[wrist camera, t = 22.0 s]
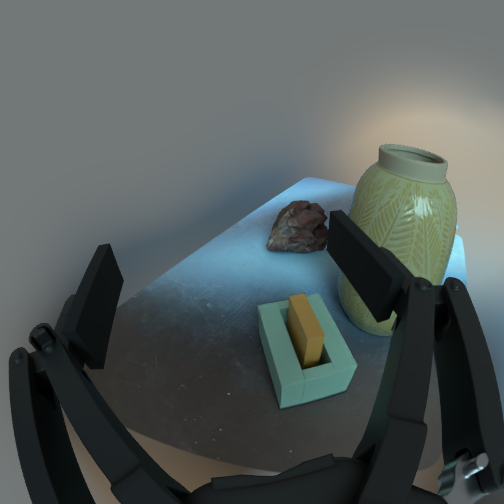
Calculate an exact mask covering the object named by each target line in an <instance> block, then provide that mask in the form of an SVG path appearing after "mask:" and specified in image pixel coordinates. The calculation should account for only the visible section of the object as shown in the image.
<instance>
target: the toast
mask: <svg viewBox="0 0 504 504" xmlns="http://www.w3.org/2000/svg"><path fill="white" fill-rule="evenodd" d="M288 334H289V337H290V340H291V342H292V345H293V348H294V351H295V353H296V356H297V359H298V361H299V364H300V367H301V370H305V369H309V368H312V367H316V366H318V364H319V360H320V355H321V351H322V346H323V342H324V337H325V334H324V332H323V330H322V328H321V326H320V324H319V322H318V320H317V318H316V316H315V314H314V312H313V310H312V308H311V305H310V303H309V301H308V299H307V297H306V295H305V293H302V294H297V295H292V296H289V311H288Z"/></svg>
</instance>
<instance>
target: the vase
mask: <svg viewBox="0 0 504 504" xmlns="http://www.w3.org/2000/svg"><path fill="white" fill-rule="evenodd" d="M447 167H448V163H447V161H446V160H445V159H443V158H442V157H440V156H438V155H436V154H433V153H431V152H428V151H425V150H422V149H418V148H414V147H409V146H402V145H395V144H386V145H381V146H380V147H379V160H378V162H376V163H375V164H373V165H372V166H370V167H369V168H368V169H367V170H366V172H365V173H364V174H363V175H362V177H361V178H360V180H359V182H358V184H357V186H356V189H355V192H354V195H353V199H352V203H351V206H350V210H349V214H348V217H349V218H350V219H351V220H352V221H353V222H354V223H355V224H356V225H357V226H358V227H359V228H360V229H361V230H362V231H363V232H364V233H365V234H366V235H367V236H368V237H369V238H370V239H371V240H372V241H373V242H374V243H375V244H376V245H377V246H378V247H385V248H386V249H388V250H390V251H391V252H392V253H393V254H394V255H395V256H396V258H398V259H399V260H400V261H401V262H402V263H403V264H404V265H405V266H406V267H407V268H408V270H409V271H410V272H411V273H412V274H413V275H414V276H415V277H423V278H425V279H427V280H429V281H430V282H431V283H432V284H433V285H441V283H442V280H443V278H444V275H445V272H446V269H447V266H448V262H449V259H450V255H451V252H452V248H453V243H454V238H455V231H456V223H457V204H456V198H455V195H454V192H453V190H452V188H451V185H450V184H449V182H448V181H447V180H446V178H445V177H446V171H447ZM338 294H339V299H340V302H341V304H342V307H343V309H344V311H345V313H346V315H347V317H348V318H349V320H350V321H351V322H352V323H353V324H354V325H355V326H357V327H358V328H359V329H361V330H363V331H365V332H367V333H369V334H373V335H377V336H392V333H393V331H390V330H391V328H392V326H393V324H394V321H395V319H396V317H397V315H396V313H395V312H394V311H393V312H392V314H391V317H390V319H388V320H385V321H382V322H379V323H377V322H376V320H375V319H374V317H373V316H372V314H371V313H370V311H369V310H368V308H367V307H366V305H365V304H364V302H363V301H362V299H361V298H360V296H359V295H358V293H357V292H356V290H355V289H354V288H353V286H352V285H351V283H350V282H349V280H348V279H347V278H346V276H345V275H344V273H343V272H342V270H341V269H340V268H339V273H338Z"/></svg>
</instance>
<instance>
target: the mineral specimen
mask: <svg viewBox="0 0 504 504" xmlns="http://www.w3.org/2000/svg"><path fill="white" fill-rule="evenodd" d="M324 212H325V211H324V210H323V209H322V208H321V206H319V205H318V204H317V203H313V204H310V203H309V201H293V202H291V203H290V204H289V205H288V206H287V207H285V208H283V209H282V210H281V212H280V213H279V215H278V217H277V220H276V221H275V223H274V225H273V228H272V234H271V235H270V237H269V239H268V243H267V246H266V247H267V249H268V250H271V251H277V250H279V251H295V252H298V253H308V252H312V251H316V250H324V248H325V247H326V245H327V240H328V231H329V230H328V229H327V227H326V226H325V225H324V222H325V221H326V220H327V216H326V215H325V214H324Z"/></svg>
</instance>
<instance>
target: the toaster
mask: <svg viewBox="0 0 504 504" xmlns="http://www.w3.org/2000/svg"><path fill="white" fill-rule="evenodd" d="M306 297H307V299H308V301H309V303H310V305H311V308H312V310H313V312H314V314H315V316H316V318H317V320H318V322H319V324H320V326H321V328H322V330H323V332H324V334H325V337H324V342H323V346H322V351H321V355H320V360H319V364H318V366H316V367H312V368H309V369H305V370H301V367H300V364H299V361H298V359H297V356H296V353H295V351H294V348H293V345H292V342H291V340H290V337H289V334H288V311H289V299H288V300H283V301H278V302H273V303H268V304H262V305H258V320H259V334H260V340H261V344H262V347H263V351H264V355H265V358H266V362H267V365H268V369H269V373H270V376H271V380H272V383H273V387H274V390H275V394H276V398H277V401H278V405H279V408H280V410H283V409H287V408H292V407H296V406H300V405H303V404H307V403H311V402H314V401H318V400H321V399H325V398H328V397H331V396H334V395H338V394H341V393H344V392H345V391H346V389H347V387H348V385H349V383H350V381H351V378H352V376H353V374H354V372H355V370H356V367H357V364H356V362H355V360H354V358H353V356H352V354H351V352H350V350H349V348H348V346H347V344H346V342H345V341H344V339H343V337H342V335H341V333H340V331H339V329H338V327H337V326H336V324H335V322H334V320H333V318H332V316H331V314H330V313H329V311H328V309H327V307H326V305H325V303H324V302H323V300H322V298H321V296H320V294H319V293H318V294H313V295H308V296H306Z"/></svg>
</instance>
